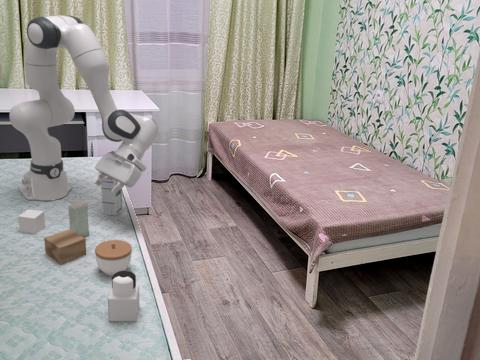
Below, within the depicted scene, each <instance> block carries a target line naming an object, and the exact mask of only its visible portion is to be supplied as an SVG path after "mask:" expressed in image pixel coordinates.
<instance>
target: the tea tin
mask: <svg viewBox="0 0 480 360" xmlns="http://www.w3.org/2000/svg"><path fill="white" fill-rule="evenodd" d="M67 205H68V216H69V217H68V219H69V220H68V221H69V229H71V230H72V231H74V232H75V233H77V234H79V235H80V236H82V237H84V238H86V237H88V236H90V231H89V211H88V210H89V208H88V206H89V202H87V201H86V200H83V199H81V198H79V199H75V200H71V201H68V202H67Z"/></svg>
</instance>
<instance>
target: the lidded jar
mask: <svg viewBox="0 0 480 360" xmlns="http://www.w3.org/2000/svg"><path fill="white" fill-rule="evenodd" d="M132 250H133V249H132V245H131V243H129V242H127V241H124V240H120V239H110V240H105V241H102V242H100V243H99V244H98V245H96V246H95V248H94V254H95V261H96V264H97V267H98V268H99V269H100V271H101V272H103V273H104V274H105V275H106V276H111V277H112V276H113V275H114V274H115V273H117V272H119V271H127V269H128V268H129V266H130V264H131V259H132Z"/></svg>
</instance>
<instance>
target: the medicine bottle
mask: <svg viewBox="0 0 480 360" xmlns="http://www.w3.org/2000/svg"><path fill="white" fill-rule="evenodd" d="M136 276H137V275H136V274H135V273H134V272H133V271H130V270H124V271H119V272H117V273H115V274H114V275H113V276H111V289H110V292H109V295H108V299H107V301H108V302H107V303H108V321H109V322H137V321H136V320H138V315H139V309H140V284H139V283H137V279H136V278H137V277H136Z"/></svg>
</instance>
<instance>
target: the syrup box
mask: <svg viewBox="0 0 480 360" xmlns="http://www.w3.org/2000/svg"><path fill="white" fill-rule="evenodd" d="M117 182H118V181H116V180H114V179H112V178H110V177H108V176H105V177H104V178H103V179H102V184H101V185H100V192H101V209H102V211H101V212H102V214H103V215H108V216H117V215H118V214H119V213H121V212H122V211H123V195H122V194H123V191H122V189H123V188H121V189H120V190H118V191H117V192H116V194H113V193H111V192H110V189H111V188H112V187H115V186H116V185H117Z"/></svg>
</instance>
